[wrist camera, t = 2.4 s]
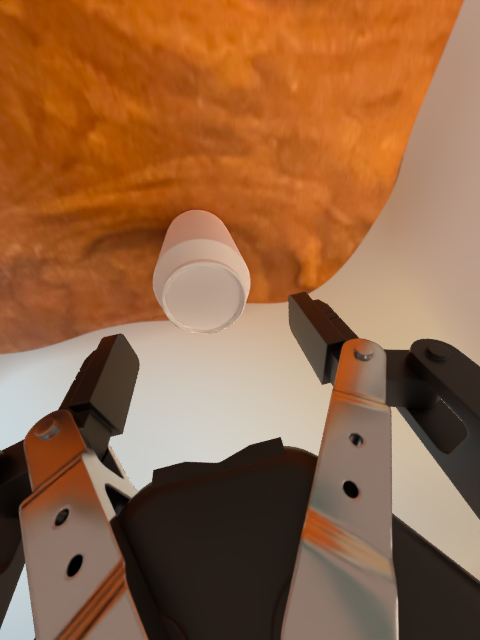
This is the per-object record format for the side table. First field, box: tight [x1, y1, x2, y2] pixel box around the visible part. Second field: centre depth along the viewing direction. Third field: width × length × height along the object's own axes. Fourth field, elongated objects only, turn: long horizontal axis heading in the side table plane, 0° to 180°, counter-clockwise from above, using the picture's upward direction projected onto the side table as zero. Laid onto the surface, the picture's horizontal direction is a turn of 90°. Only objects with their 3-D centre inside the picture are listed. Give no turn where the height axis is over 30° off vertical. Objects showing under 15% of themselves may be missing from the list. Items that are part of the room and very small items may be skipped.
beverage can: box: [153, 210, 250, 334], centre depth 18 cm, size 6×6×12 cm
